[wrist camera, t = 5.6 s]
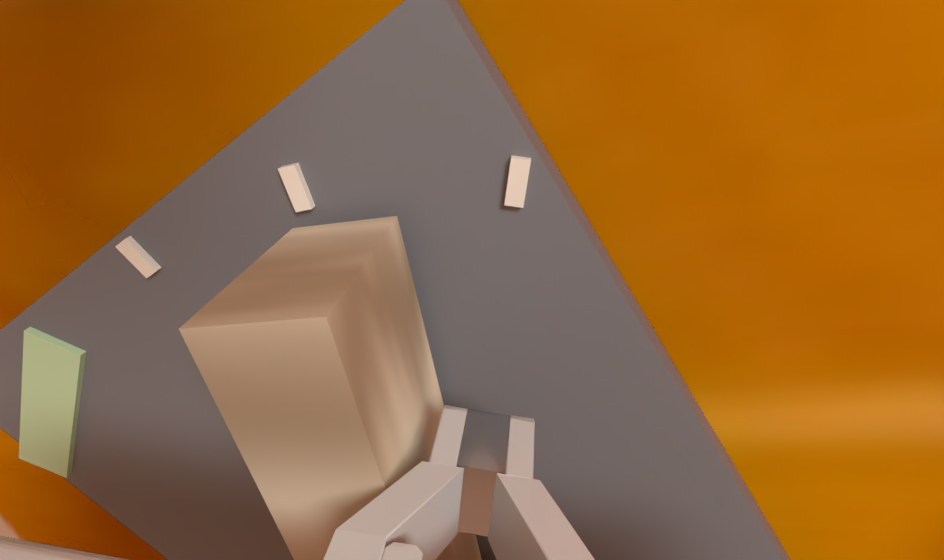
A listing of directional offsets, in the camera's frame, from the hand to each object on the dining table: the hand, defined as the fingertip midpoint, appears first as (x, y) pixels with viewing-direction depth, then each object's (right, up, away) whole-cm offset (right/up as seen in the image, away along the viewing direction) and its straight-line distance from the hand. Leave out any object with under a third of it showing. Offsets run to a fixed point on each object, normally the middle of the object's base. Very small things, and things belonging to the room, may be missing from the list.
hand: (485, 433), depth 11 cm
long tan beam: (-2, -2, +3) cm, 5 cm away
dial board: (-2, -4, +7) cm, 8 cm away
